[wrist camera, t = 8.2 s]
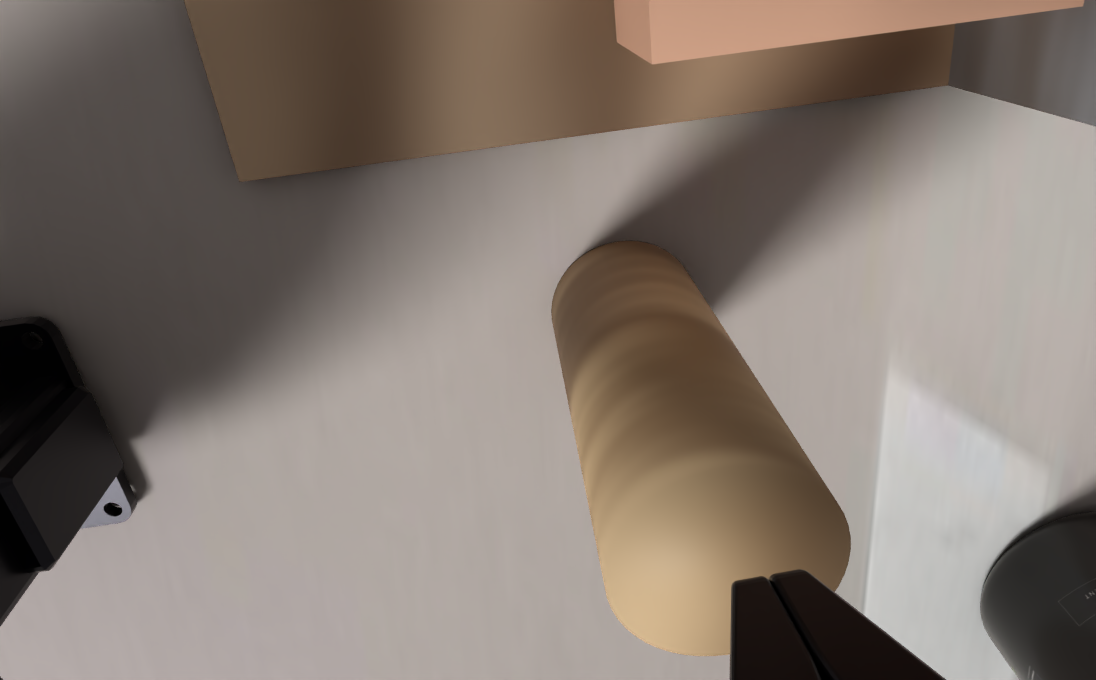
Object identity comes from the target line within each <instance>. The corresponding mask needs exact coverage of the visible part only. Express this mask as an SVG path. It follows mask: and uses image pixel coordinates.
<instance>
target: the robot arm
mask: <svg viewBox="0 0 1096 680" xmlns="http://www.w3.org/2000/svg"><path fill="white" fill-rule="evenodd" d="M30 332H34V333H36V334H38V335H39V336H40V337H41V338H42V339H43V343H41V342H37V341H36V340H34V339H33V338H32V337H31V336H30ZM122 467H123V462H122V460H121V457H120V455H119V453H118V451H117V449H116V446H115V444H114V442H113V440H112V438H111V435H110V433H109V431H108V429H107V427H106V424H105V422H104V420H103V418H102V416H101V413H100V411H99V409H98V407H97V405H96V402H95V400H94V398H93V396H92V394H91V393H90V392H89V391H88V390H87V389H86V388H85V386H84V384H83V381H82V379H81V377H80V375H79V373H78V371H77V368H76V366H75V364H74V362H73V360H72V357H71V355H70V353H69V351H68V349H67V346H66V344H65V342H64V340H63V338H62V335H61V333H60V331H59V330H58V328H57V327H56V325H55V324H53V323H52V322H51V321H49V320H47V319H45V318H42V317H26V318H19V319H12V320H5V321H0V626H1V625H2V624H3V622H4V621H5V619H6V618H7V616H8V615H9V614H10V612H11V611H12V609H13V608H14V607H15V605H16V604H17V602H18V601H19V600H20V598H21V597H22V595H23V594H24V593H25V591H26V590H27V588H28V587H29V586H30V584H31V583H32V581H33V580H34V579H35V577H36V576H37V574H38V573H39V572H42V571H49V570H50V569H52V568H53V567H54V565H55V564H56V562H57V561H58V560H59V558H60V557H61V555H62V554H63V552H64V551H65V550H66V548H67V547H68V545H69V544H70V542H71V541H72V540H73V538H74V537H75V535H76V534H77V532H78V531H79V529H81V528H88V527H95V526H102V525H109V524H116V523H121V522H124V521H126V520H127V519H128V518H129V517H130V516H131V514H132V513H133V511H134V510H135V508H136V505H137V501H136V497H135V495H134V493H133V491H132V489H131V487H130V484H129V482H128V480H127V478H126V476H125V473H124V471H123V469H122ZM110 502H111V503H116V504H118V505H120V506H121V508H119V507H115V506H113V505H112V504H111V503H110ZM0 680H3V679H2V678H1V677H0ZM730 680H946V679H945V678H943V677H942V676H941V675H939V674H938V673H937V672H936V671H934V670H933V669H932V668H930V667H929V666H928V665H927V664H925V663H924V662H923V661H922V660H920V659H919V658H918V657H916V656H915V655H914V654H913V653H911V652H910V651H909V650H908V649H906V648H905V647H904V646H902V645H901V644H900V643H899V642H897V641H896V640H895V639H893V638H892V637H891V636H890V635H888V634H887V633H886V632H885V631H883V630H882V629H881V628H879V627H878V626H877V625H876V624H874V623H873V622H872V621H871V620H869V619H868V618H867V617H865V616H864V615H863V614H862V613H860V612H859V611H858V610H856V609H855V608H854V607H853V606H851V605H850V604H849V603H848V602H846V601H845V600H844V599H842V598H841V597H840V596H839V595H837V594H836V593H835V592H834V591H832V590H831V589H830V588H828V587H827V586H826V585H825V584H823V583H822V582H821V581H819V580H818V579H817V578H816V577H814V576H813V575H812V574H811V573H809V572H808V571H805V570H802V569H797V570H792V571H786V572H781V573H775V574H772V575H771V576H770V577H769V579H767V578H766V577H764V576H759V577H753V578H748V579H742V580H737V581H734V582H733V583H732V585H731V624H730Z"/></svg>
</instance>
